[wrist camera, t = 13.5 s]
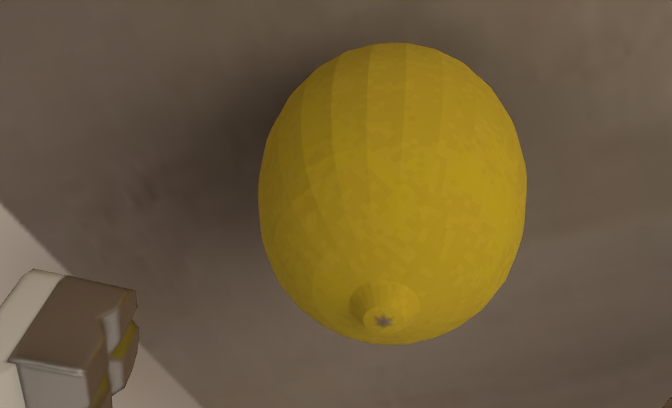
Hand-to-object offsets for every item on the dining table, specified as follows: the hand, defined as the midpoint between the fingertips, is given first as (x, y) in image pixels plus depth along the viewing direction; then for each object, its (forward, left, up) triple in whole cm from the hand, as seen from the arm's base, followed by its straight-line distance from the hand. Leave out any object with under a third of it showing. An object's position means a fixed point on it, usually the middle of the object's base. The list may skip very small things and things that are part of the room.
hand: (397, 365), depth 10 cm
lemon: (0, 0, -9) cm, 9 cm away
